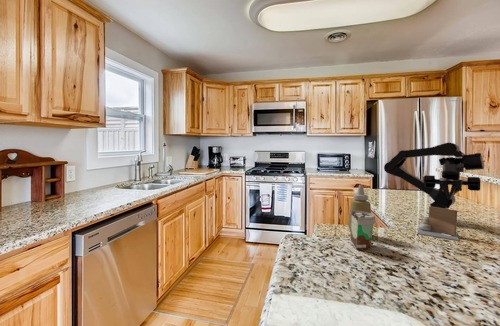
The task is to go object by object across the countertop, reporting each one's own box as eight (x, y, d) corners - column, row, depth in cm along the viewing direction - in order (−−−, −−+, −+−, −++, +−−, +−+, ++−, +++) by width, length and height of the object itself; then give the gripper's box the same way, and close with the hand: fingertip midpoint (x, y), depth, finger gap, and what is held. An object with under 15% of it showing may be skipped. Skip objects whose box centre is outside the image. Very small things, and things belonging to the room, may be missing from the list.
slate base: (419, 226, 108) (419, 225, 108) (455, 232, 101) (456, 230, 101) (417, 234, 97) (417, 232, 97) (458, 240, 90) (458, 239, 90)
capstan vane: (422, 227, 104) (423, 204, 104) (457, 234, 95) (458, 210, 95) (417, 228, 102) (418, 205, 102) (452, 236, 93) (453, 211, 92)
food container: (379, 253, 75) (381, 219, 75) (357, 251, 76) (358, 217, 76) (369, 240, 87) (370, 211, 87) (349, 239, 88) (350, 209, 88)
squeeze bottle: (371, 233, 96) (373, 184, 95) (371, 239, 88) (373, 186, 88) (348, 230, 99) (349, 183, 99) (346, 236, 92) (348, 185, 91)
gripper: (424, 157, 114) (419, 184, 106) (480, 156, 102) (480, 188, 94) (426, 173, 121) (422, 200, 113) (480, 175, 108) (480, 206, 100)
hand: (449, 198), depth 105 cm, fingers closed
